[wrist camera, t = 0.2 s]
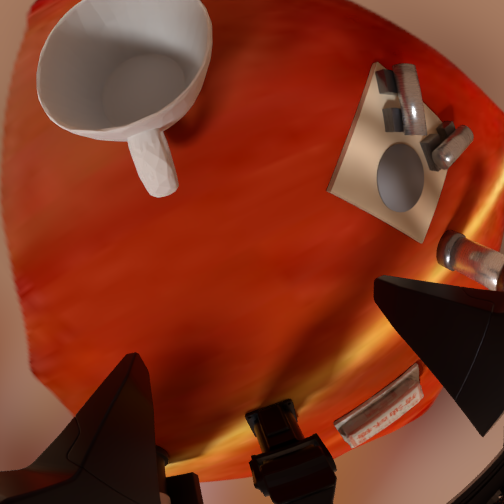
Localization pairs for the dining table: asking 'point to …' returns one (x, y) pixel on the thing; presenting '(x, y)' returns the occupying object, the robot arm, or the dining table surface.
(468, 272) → the drinking glass
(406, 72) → the shaft
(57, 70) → the mug
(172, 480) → the light fixture
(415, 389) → the packaged product
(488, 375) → the robot arm
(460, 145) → the shaft
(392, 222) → the board
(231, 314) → the dining table surface
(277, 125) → the dining table surface
